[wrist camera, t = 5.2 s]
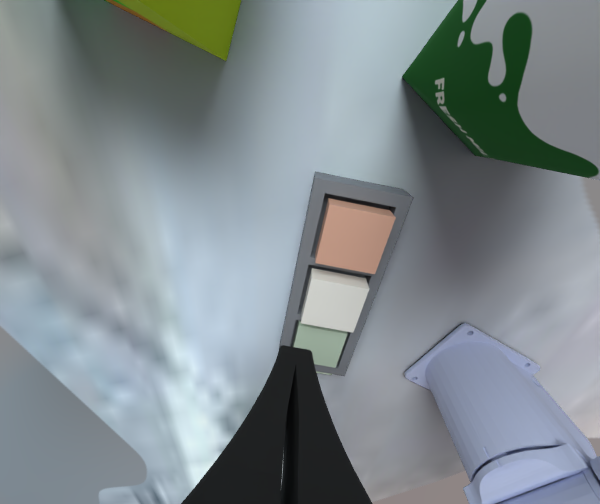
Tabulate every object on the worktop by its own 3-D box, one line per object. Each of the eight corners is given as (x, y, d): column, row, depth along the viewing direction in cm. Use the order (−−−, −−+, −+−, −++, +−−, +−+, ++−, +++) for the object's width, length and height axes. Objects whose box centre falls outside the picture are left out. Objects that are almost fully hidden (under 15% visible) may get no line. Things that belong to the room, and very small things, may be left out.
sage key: (334, 355, 24) (335, 367, 23) (291, 347, 24) (290, 359, 23) (345, 322, 22) (347, 334, 21) (299, 313, 22) (298, 325, 21)
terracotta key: (370, 264, 18) (374, 274, 17) (315, 253, 18) (315, 263, 17) (389, 210, 17) (395, 217, 15) (328, 198, 16) (329, 204, 15)
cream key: (351, 320, 21) (353, 332, 19) (301, 311, 21) (300, 323, 19) (365, 278, 19) (369, 289, 18) (311, 268, 19) (311, 278, 18)
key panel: (341, 358, 26) (343, 378, 24) (279, 347, 25) (276, 366, 23) (402, 189, 18) (413, 197, 16) (315, 171, 18) (315, 177, 16)
